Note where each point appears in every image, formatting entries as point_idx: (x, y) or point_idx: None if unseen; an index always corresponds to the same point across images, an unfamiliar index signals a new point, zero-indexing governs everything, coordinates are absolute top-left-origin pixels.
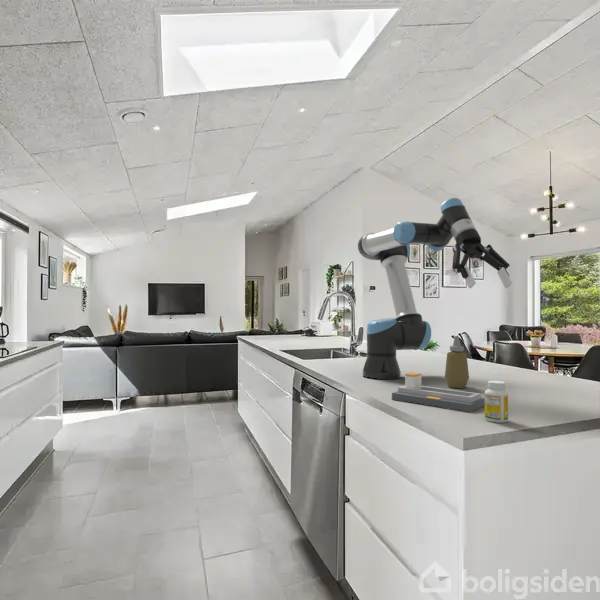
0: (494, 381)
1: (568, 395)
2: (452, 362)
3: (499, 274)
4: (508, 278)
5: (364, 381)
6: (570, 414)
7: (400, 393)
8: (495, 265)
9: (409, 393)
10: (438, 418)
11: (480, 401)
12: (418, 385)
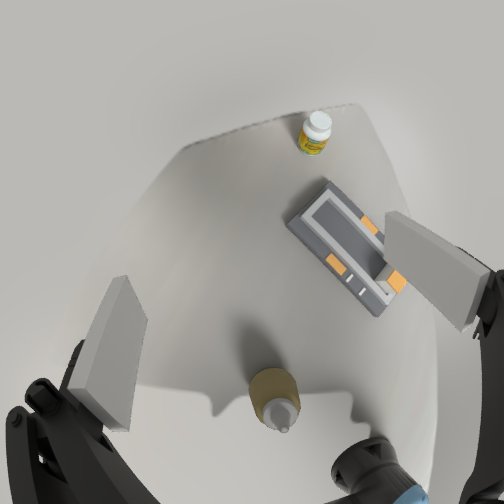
0: (321, 123)
1: None
2: (293, 386)
3: (126, 398)
4: (111, 300)
5: (404, 416)
6: (194, 167)
7: None
8: (118, 467)
9: None
10: (372, 162)
11: (305, 206)
12: (384, 273)
